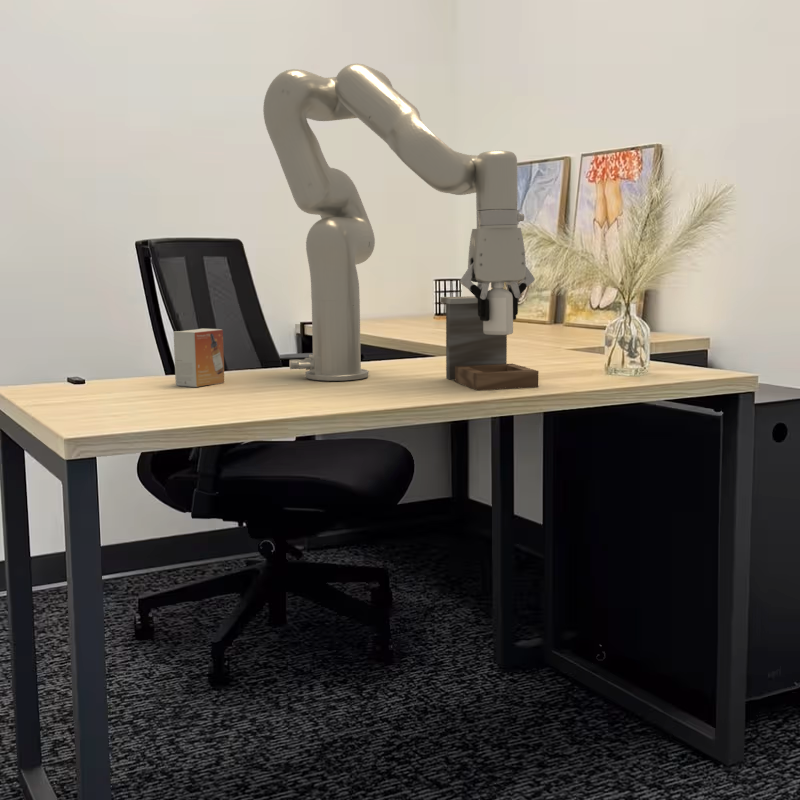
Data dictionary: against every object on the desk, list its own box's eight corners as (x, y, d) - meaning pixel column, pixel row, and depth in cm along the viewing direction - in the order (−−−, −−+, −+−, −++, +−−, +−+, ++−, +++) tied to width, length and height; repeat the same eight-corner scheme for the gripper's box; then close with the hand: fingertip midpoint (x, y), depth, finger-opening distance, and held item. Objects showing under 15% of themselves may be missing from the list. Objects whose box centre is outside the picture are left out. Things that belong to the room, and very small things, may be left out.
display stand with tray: (543, 386, 179) (544, 299, 176) (472, 390, 175) (472, 301, 172) (506, 375, 195) (506, 295, 193) (440, 378, 191) (440, 297, 189)
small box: (196, 388, 182) (193, 332, 180) (174, 386, 185) (172, 330, 183) (225, 382, 188) (223, 328, 187) (204, 380, 191) (202, 327, 190)
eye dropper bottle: (495, 336, 177) (494, 270, 176) (480, 333, 182) (480, 269, 181) (515, 334, 179) (515, 269, 177) (501, 332, 184) (500, 269, 182)
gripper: (530, 220, 184) (531, 316, 186) (446, 222, 179) (448, 320, 182) (548, 219, 176) (548, 319, 179) (460, 220, 172) (462, 323, 174)
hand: (497, 318), depth 180 cm, fingers closed on eye dropper bottle, 4 cm apart
